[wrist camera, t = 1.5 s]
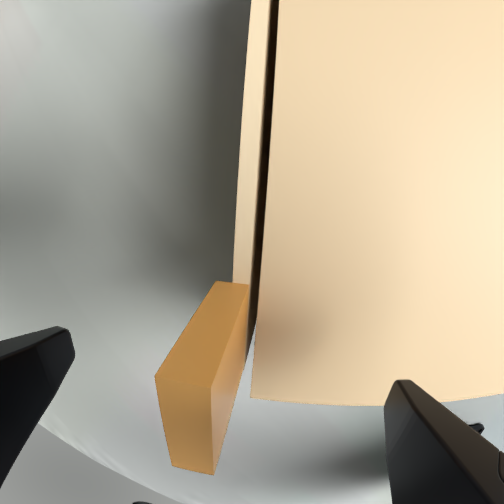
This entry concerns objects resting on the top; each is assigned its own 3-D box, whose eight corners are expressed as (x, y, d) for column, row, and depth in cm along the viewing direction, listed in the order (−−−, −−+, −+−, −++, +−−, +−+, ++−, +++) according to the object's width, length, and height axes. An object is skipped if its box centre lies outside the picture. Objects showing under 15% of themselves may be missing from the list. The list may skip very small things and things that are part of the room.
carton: (500, 327, 15) (549, 382, 8) (266, 315, 16) (250, 397, 10) (530, 62, 9) (592, 44, 3) (289, -12, 11) (283, -89, 5)
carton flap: (262, 295, 16) (213, 479, 6) (243, 293, 16) (173, 470, 6) (282, 0, 11) (257, -160, 1) (263, -1, 11) (216, -157, 1)
